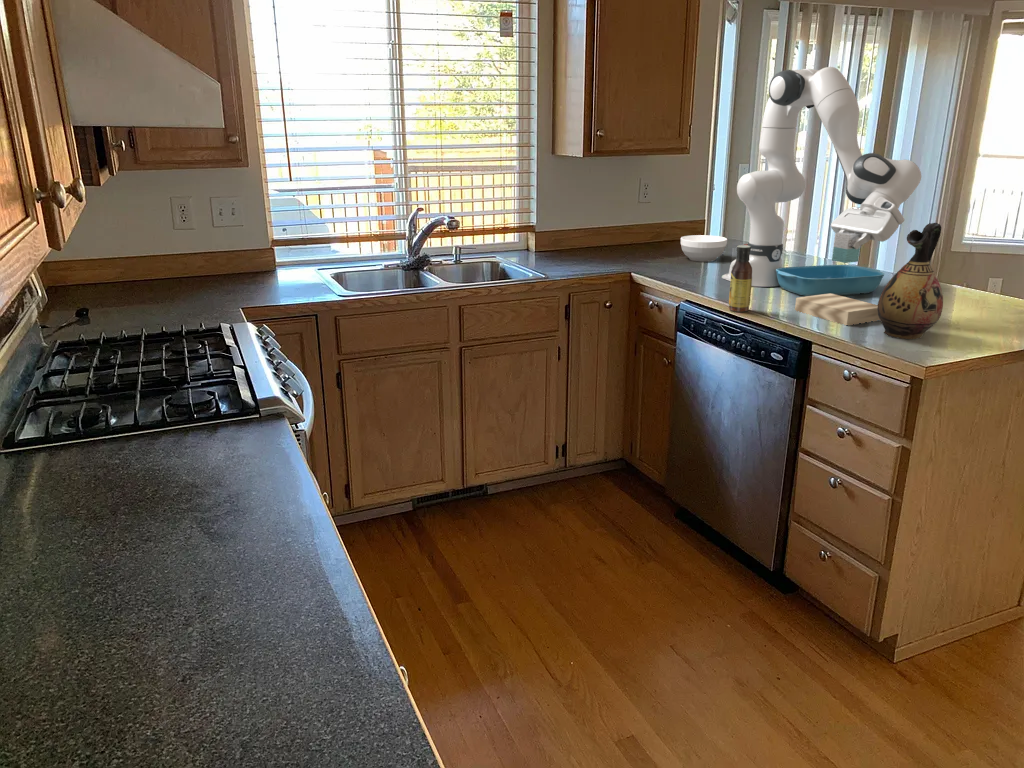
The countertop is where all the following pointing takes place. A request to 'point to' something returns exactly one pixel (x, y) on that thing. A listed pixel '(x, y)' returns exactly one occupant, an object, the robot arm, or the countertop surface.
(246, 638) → the countertop surface
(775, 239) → the robot arm
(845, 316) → the wooden block
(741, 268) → the sauce bottle
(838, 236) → the white and teal block
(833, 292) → the casserole dish
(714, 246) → the bowl
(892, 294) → the ceramic jug
